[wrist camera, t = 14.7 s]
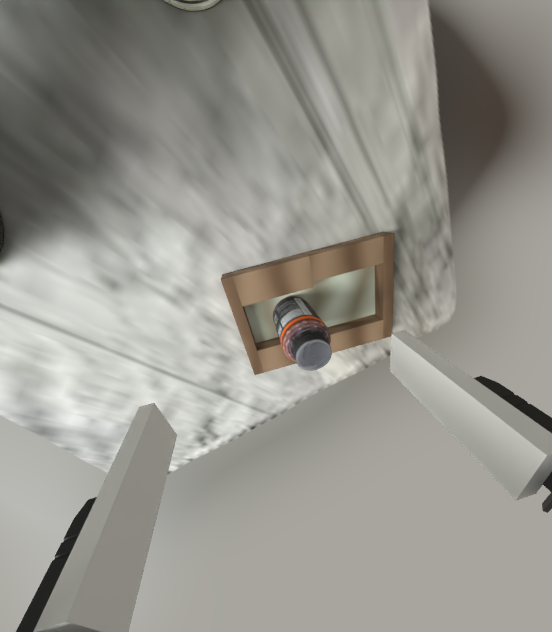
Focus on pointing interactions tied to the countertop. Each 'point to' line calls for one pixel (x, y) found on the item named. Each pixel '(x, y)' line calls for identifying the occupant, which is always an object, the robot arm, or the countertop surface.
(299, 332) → the supplement bottle
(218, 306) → the countertop surface
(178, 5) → the coffee can
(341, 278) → the brown wooden picture frame
